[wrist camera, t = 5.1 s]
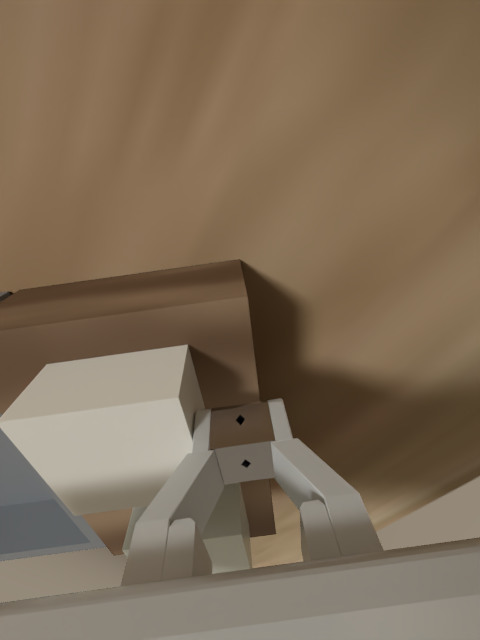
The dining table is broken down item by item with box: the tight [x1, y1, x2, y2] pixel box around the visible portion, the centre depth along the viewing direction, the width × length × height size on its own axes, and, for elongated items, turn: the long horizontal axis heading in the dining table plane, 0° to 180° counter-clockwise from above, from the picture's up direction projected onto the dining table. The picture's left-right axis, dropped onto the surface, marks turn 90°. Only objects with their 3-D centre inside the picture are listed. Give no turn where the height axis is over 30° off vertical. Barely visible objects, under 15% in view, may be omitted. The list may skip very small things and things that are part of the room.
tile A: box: [0, 345, 205, 516], centre depth 10 cm, size 5×5×2 cm
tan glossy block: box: [0, 259, 276, 555], centre depth 15 cm, size 16×10×4 cm, turn 7°
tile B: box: [122, 482, 252, 574], centre depth 14 cm, size 5×5×2 cm
